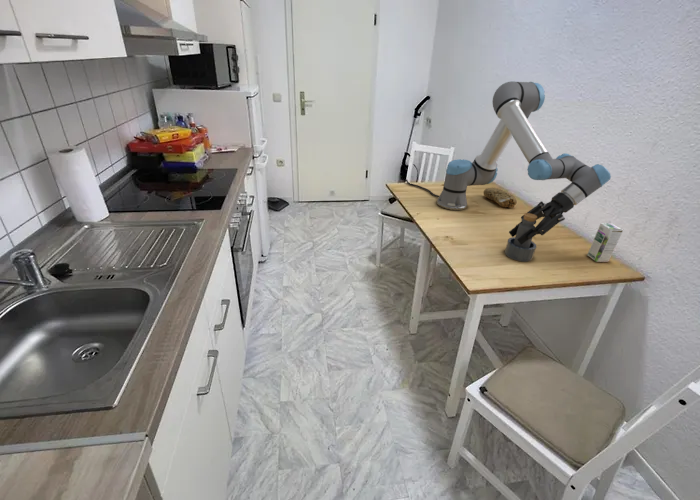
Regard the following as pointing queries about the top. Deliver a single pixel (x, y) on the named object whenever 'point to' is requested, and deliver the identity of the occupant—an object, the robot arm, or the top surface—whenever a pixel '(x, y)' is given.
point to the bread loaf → (500, 197)
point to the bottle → (525, 229)
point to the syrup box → (604, 242)
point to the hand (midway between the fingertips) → (514, 238)
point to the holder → (519, 251)
